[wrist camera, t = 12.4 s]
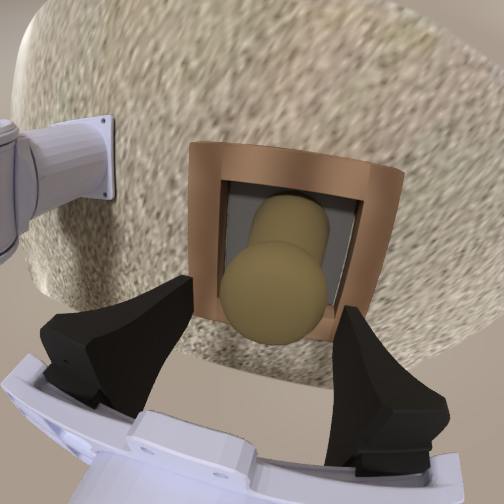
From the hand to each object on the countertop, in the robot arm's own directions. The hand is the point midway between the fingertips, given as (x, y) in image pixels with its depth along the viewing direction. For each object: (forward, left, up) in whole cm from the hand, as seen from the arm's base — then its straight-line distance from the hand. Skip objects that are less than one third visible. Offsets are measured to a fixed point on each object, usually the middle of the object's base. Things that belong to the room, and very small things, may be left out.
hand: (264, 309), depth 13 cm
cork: (0, 0, -10) cm, 10 cm away
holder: (0, -1, -10) cm, 10 cm away
